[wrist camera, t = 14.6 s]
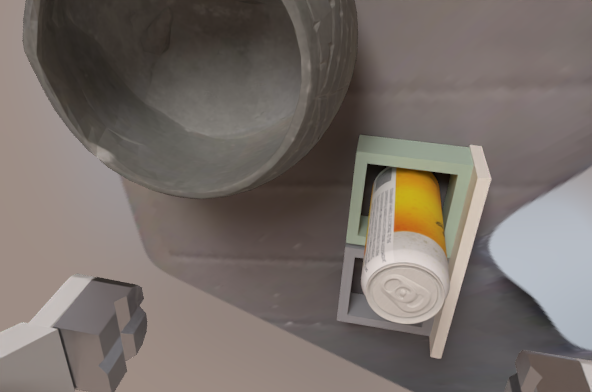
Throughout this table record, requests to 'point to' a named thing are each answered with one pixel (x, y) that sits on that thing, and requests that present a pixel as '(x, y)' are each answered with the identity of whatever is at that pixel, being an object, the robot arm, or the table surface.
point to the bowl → (194, 84)
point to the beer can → (405, 247)
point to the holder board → (456, 219)
